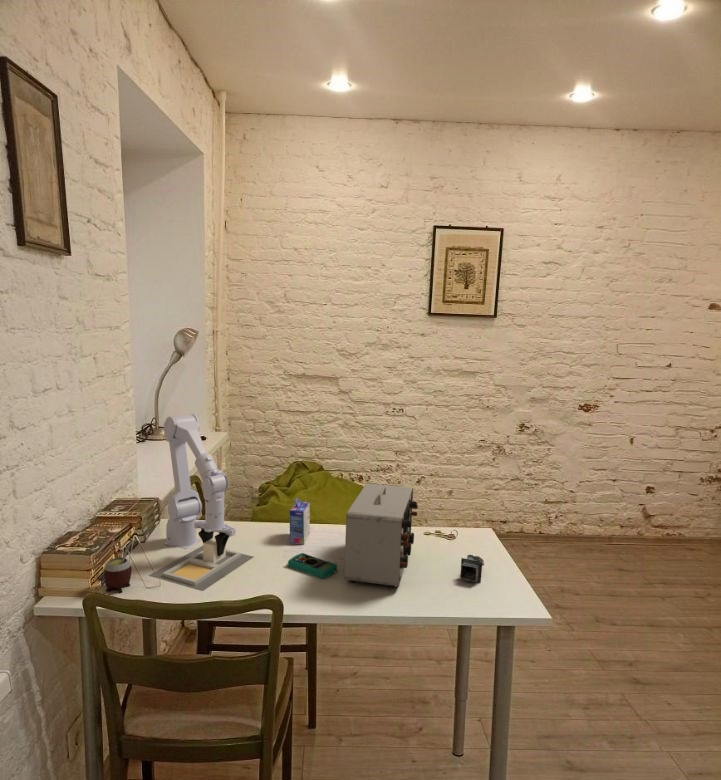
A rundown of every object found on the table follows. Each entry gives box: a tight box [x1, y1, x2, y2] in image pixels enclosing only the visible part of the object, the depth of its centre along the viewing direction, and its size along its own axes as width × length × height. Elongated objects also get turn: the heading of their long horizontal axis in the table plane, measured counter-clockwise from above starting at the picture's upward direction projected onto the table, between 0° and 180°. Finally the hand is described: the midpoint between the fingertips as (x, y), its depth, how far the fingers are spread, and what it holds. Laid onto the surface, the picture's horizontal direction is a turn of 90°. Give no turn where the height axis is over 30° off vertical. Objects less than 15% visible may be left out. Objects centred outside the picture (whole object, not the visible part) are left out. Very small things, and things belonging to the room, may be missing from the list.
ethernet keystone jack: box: [459, 554, 485, 583], centre depth 166 cm, size 6×13×6 cm, turn 157°
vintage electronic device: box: [343, 483, 418, 589], centre depth 169 cm, size 32×18×25 cm, turn 168°
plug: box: [202, 536, 227, 564], centre depth 169 cm, size 4×7×6 cm, turn 157°
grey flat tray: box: [148, 545, 254, 592], centre depth 164 cm, size 20×25×2 cm
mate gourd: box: [103, 538, 138, 594], centre depth 149 cm, size 8×8×15 cm
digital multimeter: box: [287, 552, 338, 580], centre depth 166 cm, size 7×15×3 cm, turn 57°
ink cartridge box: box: [289, 497, 311, 545], centre depth 188 cm, size 10×6×14 cm, turn 174°
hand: (214, 553), depth 169 cm, fingers closed on plug, 4 cm apart
